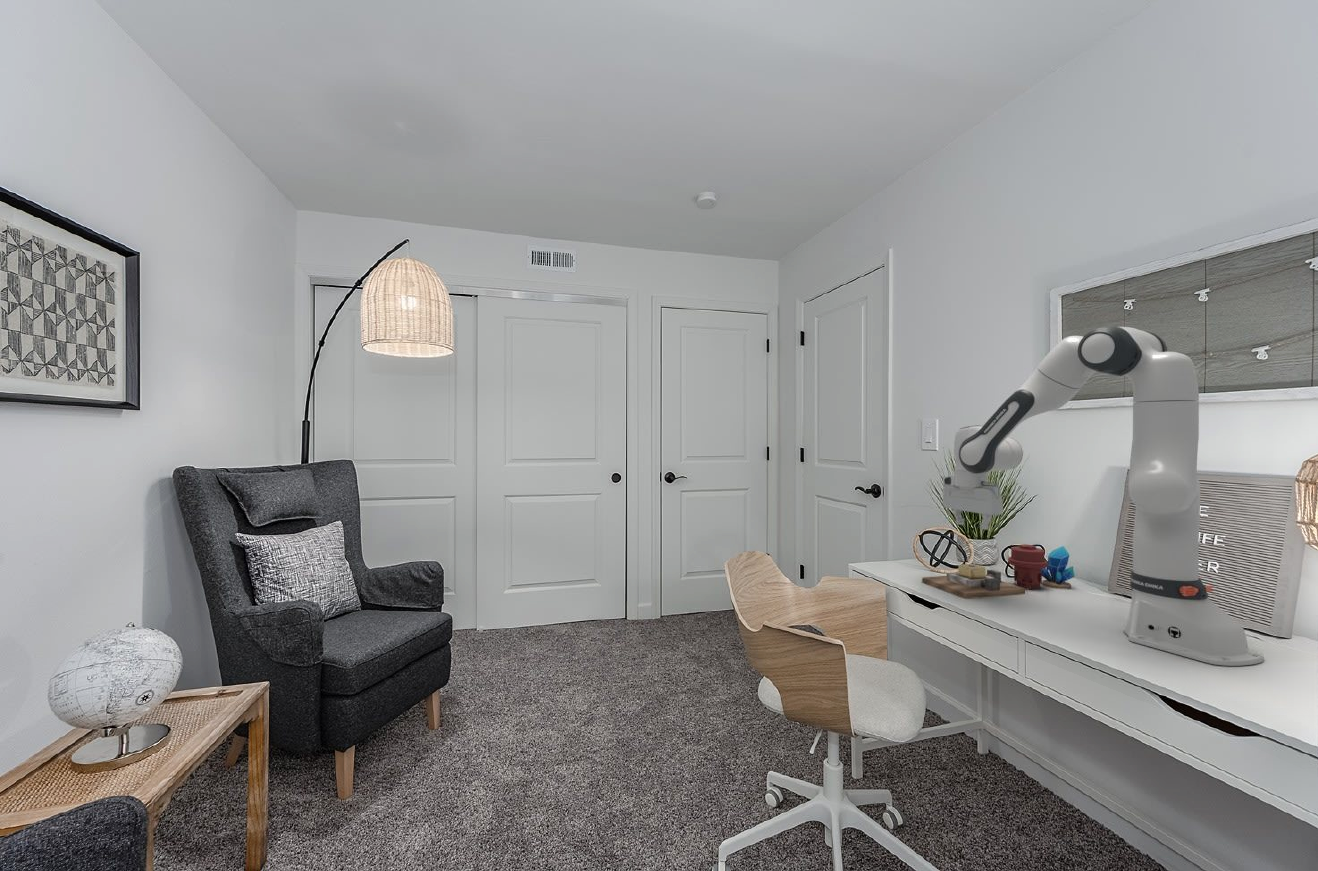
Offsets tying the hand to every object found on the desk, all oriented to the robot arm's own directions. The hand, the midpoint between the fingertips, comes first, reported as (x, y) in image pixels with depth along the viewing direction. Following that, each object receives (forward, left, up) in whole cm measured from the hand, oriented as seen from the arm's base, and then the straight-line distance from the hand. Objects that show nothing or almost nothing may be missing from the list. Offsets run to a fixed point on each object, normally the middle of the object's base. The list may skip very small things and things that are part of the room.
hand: (971, 526), depth 170 cm
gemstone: (-4, -26, -18) cm, 32 cm away
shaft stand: (0, 0, -18) cm, 18 cm away
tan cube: (0, 0, -17) cm, 17 cm away
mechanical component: (-3, -17, -18) cm, 25 cm away
